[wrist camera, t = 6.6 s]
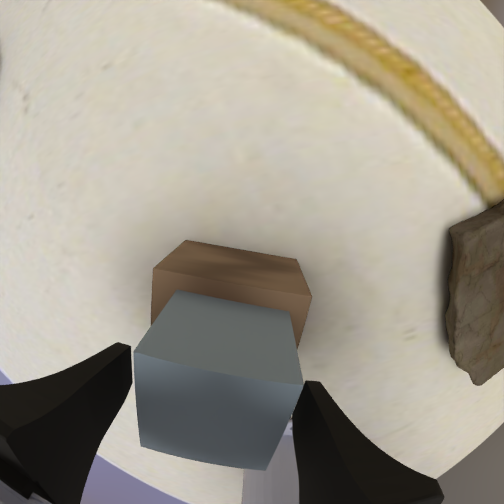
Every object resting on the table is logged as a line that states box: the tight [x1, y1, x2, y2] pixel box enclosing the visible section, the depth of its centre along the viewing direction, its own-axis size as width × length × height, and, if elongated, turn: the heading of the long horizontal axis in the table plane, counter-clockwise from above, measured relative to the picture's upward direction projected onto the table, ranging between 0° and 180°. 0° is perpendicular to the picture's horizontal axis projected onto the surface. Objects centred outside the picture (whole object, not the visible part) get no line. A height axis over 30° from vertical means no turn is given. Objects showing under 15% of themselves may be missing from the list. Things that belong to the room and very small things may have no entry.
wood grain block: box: [151, 240, 312, 349], centre depth 16 cm, size 7×7×6 cm
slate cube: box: [134, 290, 304, 471], centre depth 11 cm, size 5×5×5 cm
